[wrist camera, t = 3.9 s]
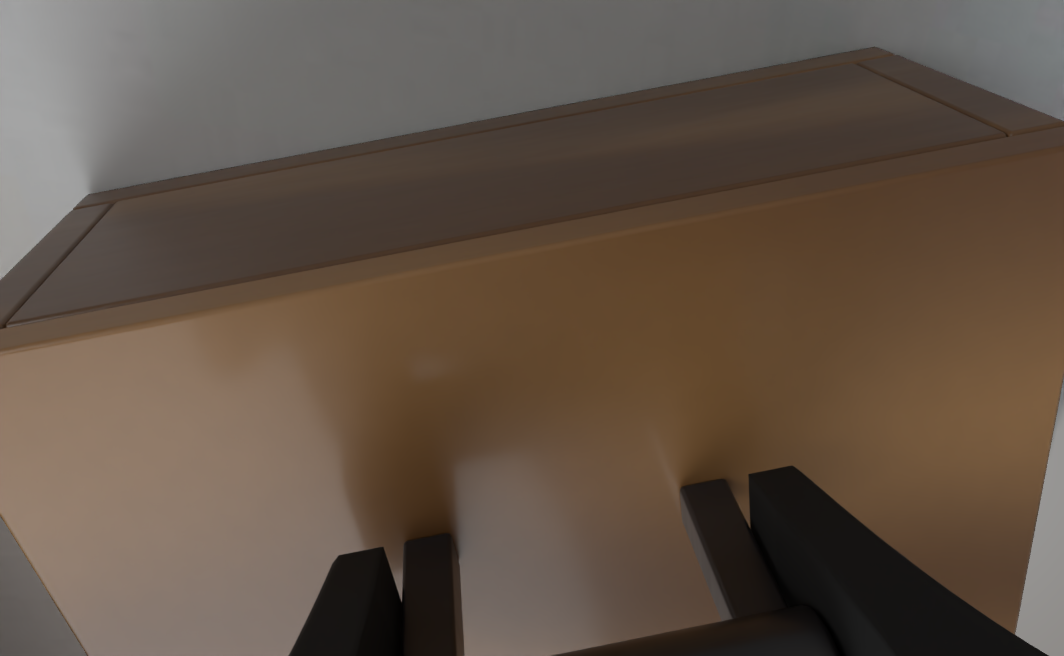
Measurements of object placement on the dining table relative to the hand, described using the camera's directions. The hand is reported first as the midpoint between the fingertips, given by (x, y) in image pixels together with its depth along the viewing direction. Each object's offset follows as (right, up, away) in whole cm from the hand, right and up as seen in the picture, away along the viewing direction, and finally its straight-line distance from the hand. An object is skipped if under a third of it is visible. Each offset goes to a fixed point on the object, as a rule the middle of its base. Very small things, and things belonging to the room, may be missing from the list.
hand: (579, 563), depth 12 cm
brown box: (0, -1, +2) cm, 2 cm away
